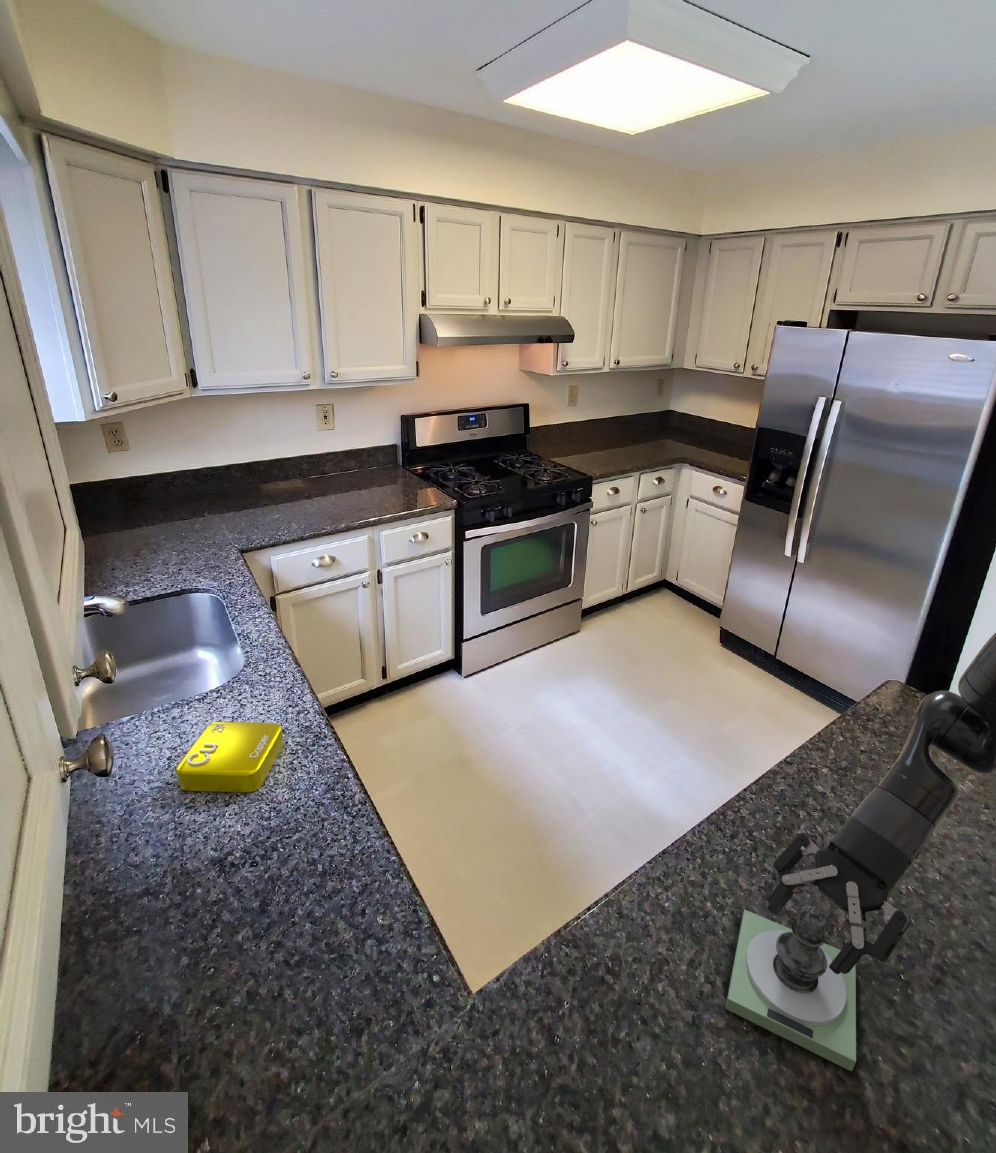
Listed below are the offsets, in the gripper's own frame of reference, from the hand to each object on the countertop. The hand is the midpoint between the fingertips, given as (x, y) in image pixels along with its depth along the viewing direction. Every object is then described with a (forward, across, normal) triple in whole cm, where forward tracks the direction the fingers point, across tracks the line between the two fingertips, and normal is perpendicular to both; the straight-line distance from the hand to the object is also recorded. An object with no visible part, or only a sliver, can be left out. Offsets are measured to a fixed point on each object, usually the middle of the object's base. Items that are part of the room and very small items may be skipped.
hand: (801, 940), depth 73 cm
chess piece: (+4, 0, +6) cm, 7 cm away
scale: (+6, 0, +8) cm, 10 cm away
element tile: (+48, -78, -34) cm, 97 cm away
